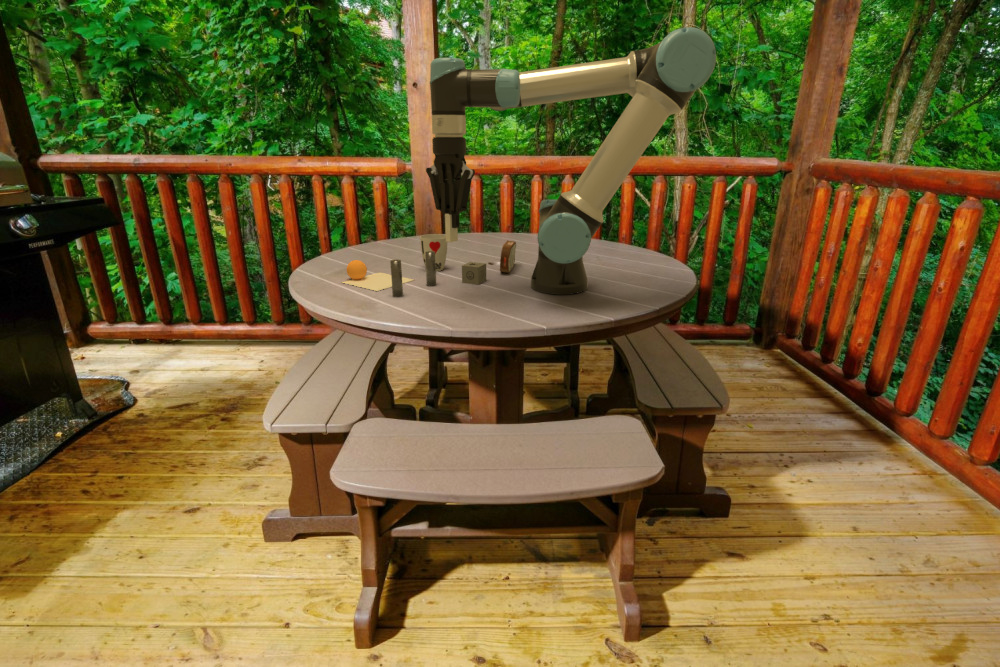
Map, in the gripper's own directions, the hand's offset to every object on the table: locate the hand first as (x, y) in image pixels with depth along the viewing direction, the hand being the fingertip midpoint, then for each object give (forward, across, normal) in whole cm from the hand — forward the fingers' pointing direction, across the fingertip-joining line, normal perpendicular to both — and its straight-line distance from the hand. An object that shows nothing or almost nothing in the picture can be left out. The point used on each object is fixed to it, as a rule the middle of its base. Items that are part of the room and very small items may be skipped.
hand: (451, 241), depth 126 cm
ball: (+12, -33, -2) cm, 35 cm away
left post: (+14, -13, -6) cm, 20 cm away
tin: (+15, -6, +33) cm, 37 cm away
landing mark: (+14, -27, 0) cm, 31 cm away
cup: (+15, -24, +20) cm, 34 cm away
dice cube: (+15, -6, +16) cm, 22 cm away
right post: (+14, -13, +6) cm, 20 cm away
